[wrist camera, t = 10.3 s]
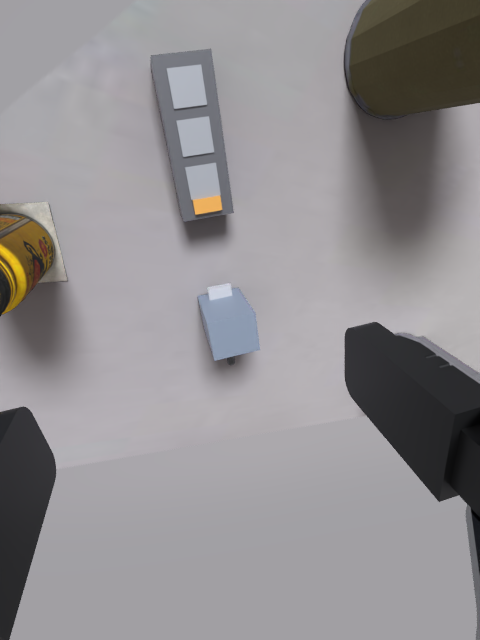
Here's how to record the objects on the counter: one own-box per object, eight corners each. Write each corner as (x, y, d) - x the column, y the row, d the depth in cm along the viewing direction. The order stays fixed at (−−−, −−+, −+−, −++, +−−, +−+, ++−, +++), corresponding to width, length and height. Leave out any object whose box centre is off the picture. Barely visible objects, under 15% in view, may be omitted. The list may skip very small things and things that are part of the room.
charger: (236, 277, 38) (253, 300, 32) (248, 355, 42) (265, 389, 36) (195, 285, 37) (204, 311, 31) (211, 364, 42) (222, 401, 35)
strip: (204, 60, 29) (211, 47, 26) (226, 207, 35) (234, 213, 31) (150, 66, 29) (150, 53, 25) (181, 215, 34) (184, 222, 31)
